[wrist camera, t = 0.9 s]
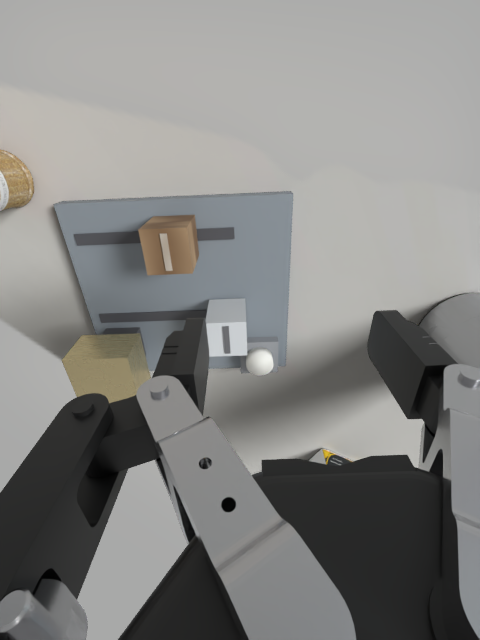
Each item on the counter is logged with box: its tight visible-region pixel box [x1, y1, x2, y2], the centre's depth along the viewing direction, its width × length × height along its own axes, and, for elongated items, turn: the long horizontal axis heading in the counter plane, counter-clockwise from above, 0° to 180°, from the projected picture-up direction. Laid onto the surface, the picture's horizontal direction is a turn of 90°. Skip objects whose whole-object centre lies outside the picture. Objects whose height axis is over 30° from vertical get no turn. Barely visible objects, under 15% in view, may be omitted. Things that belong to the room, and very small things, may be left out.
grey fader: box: [206, 298, 247, 357], centre depth 29 cm, size 4×4×5 cm
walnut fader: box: [138, 215, 199, 275], centre depth 25 cm, size 4×4×5 cm
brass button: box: [62, 333, 151, 403], centre depth 28 cm, size 6×6×4 cm
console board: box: [53, 191, 293, 376], centre depth 29 cm, size 20×18×5 cm
